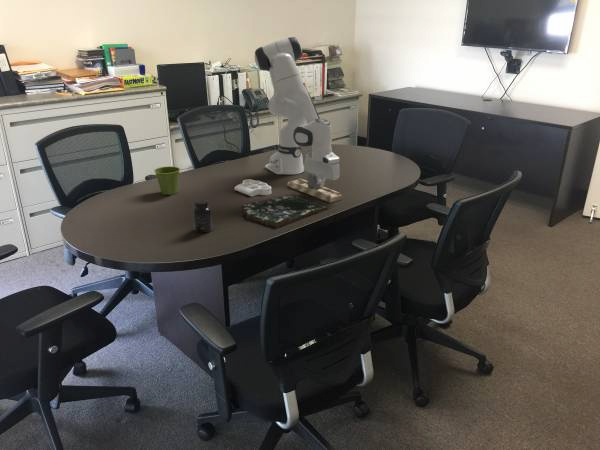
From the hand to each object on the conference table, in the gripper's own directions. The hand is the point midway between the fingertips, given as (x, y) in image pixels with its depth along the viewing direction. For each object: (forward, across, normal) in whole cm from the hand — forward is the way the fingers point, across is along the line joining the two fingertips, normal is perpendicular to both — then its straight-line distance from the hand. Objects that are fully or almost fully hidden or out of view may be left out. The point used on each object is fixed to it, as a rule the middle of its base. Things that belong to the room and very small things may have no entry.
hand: (320, 184), depth 235 cm
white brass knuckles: (+6, -25, -20) cm, 32 cm away
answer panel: (+5, -5, 0) cm, 7 cm away
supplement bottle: (+5, 0, -63) cm, 63 cm away
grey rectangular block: (+3, -5, 0) cm, 5 cm away
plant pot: (+5, -48, -52) cm, 71 cm away
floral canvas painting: (+6, +3, -27) cm, 28 cm away
